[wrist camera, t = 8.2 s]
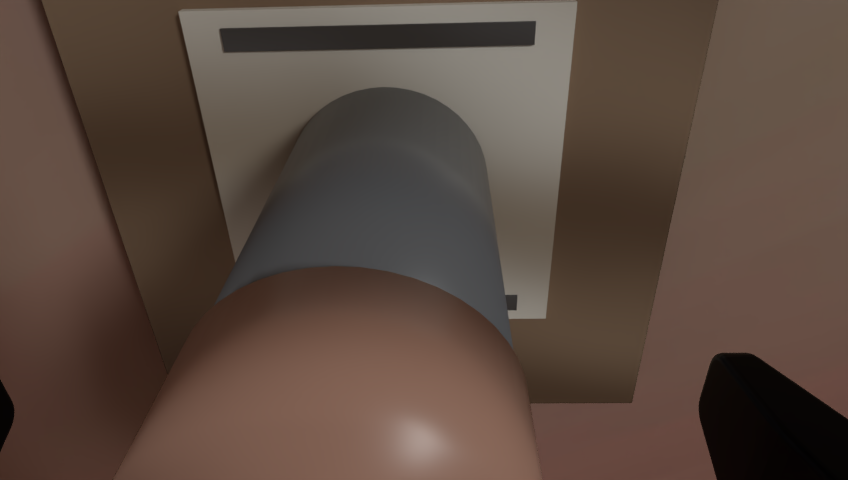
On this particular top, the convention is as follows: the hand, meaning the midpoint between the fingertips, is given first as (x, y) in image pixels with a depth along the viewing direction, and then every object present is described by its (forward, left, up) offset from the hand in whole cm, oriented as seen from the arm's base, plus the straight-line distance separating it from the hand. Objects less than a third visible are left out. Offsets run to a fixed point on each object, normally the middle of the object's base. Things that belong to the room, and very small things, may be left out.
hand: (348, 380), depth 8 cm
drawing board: (0, 0, -7) cm, 7 cm away
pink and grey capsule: (0, 0, -6) cm, 6 cm away
